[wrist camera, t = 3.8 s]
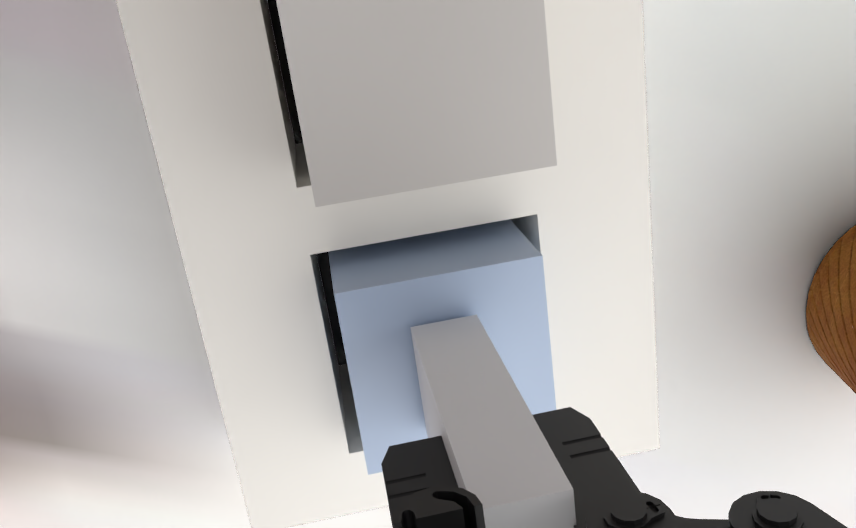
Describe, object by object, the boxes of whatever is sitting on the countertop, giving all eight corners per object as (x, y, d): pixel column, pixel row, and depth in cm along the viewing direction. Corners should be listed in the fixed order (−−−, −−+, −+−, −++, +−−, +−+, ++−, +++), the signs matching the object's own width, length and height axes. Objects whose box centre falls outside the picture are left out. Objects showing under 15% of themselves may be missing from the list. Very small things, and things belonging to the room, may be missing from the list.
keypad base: (534, -524, 19) (615, -690, 14) (595, 365, 27) (659, 448, 22) (39, -483, 17) (-52, -649, 13) (260, 432, 26) (253, 534, 21)
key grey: (465, -78, 19) (536, -99, 14) (486, 114, 21) (557, 165, 15) (272, -51, 19) (264, -61, 13) (308, 144, 20) (315, 207, 15)
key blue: (482, 188, 23) (542, 255, 18) (498, 332, 25) (558, 434, 19) (323, 215, 23) (333, 294, 17) (350, 360, 24) (368, 474, 19)
